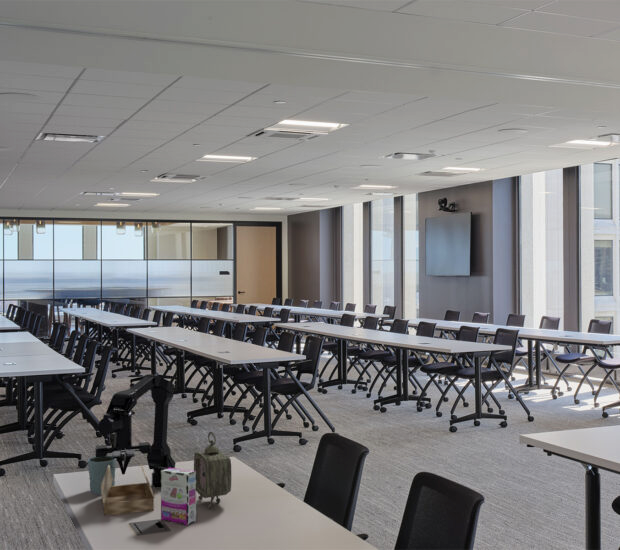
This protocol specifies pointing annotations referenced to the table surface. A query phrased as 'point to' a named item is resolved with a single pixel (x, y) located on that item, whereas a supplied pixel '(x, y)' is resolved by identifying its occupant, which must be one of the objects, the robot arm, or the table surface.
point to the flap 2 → (147, 480)
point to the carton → (128, 499)
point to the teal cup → (100, 471)
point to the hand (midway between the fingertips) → (123, 474)
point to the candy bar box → (178, 496)
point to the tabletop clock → (212, 472)
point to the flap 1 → (106, 483)
